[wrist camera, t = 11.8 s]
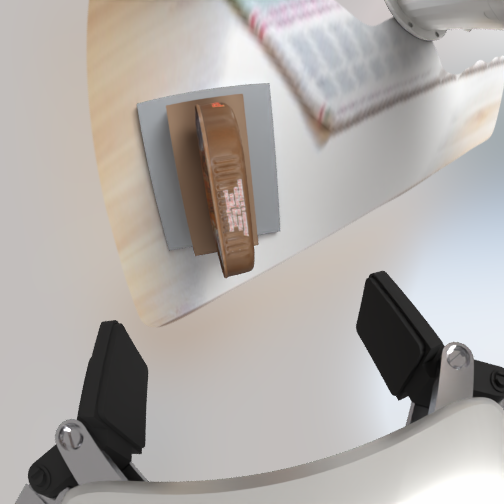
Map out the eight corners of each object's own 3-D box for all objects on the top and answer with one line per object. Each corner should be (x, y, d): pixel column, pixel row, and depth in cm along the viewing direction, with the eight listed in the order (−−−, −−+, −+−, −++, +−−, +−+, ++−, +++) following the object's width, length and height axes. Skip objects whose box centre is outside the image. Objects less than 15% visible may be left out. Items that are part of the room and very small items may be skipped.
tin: (192, 104, 22) (188, 106, 15) (227, 99, 22) (240, 99, 15) (215, 248, 30) (222, 299, 23) (244, 243, 30) (259, 292, 23)
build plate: (267, 83, 26) (269, 83, 25) (278, 227, 36) (280, 231, 35) (138, 103, 25) (136, 103, 24) (169, 246, 34) (169, 250, 33)
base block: (237, 94, 25) (242, 93, 22) (252, 228, 34) (258, 244, 31) (170, 104, 25) (165, 105, 21) (195, 238, 33) (195, 255, 30)
